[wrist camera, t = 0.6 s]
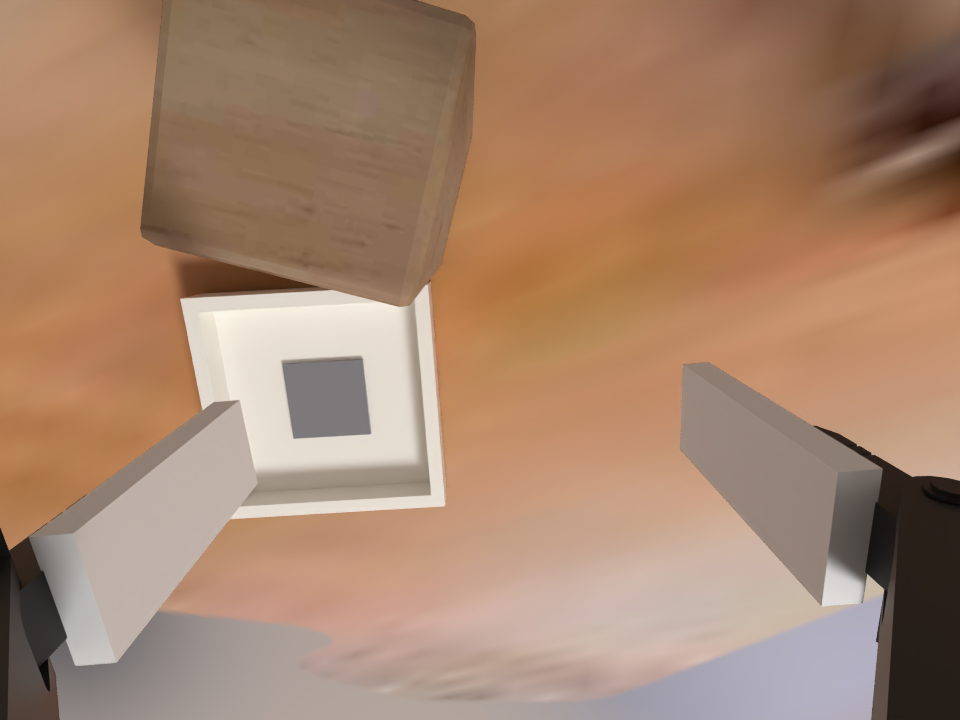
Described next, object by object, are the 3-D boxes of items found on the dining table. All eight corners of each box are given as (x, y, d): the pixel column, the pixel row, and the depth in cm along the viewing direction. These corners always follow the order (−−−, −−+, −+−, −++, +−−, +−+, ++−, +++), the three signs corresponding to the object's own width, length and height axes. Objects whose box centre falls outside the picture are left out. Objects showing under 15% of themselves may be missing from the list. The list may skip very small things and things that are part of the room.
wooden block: (440, 270, 38) (411, 312, 19) (306, 235, 37) (132, 241, 18) (473, 130, 36) (480, 13, 17) (331, 89, 35) (163, -84, 16)
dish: (202, 293, 38) (180, 298, 35) (430, 280, 38) (427, 284, 35) (240, 499, 42) (224, 519, 40) (446, 487, 43) (444, 506, 40)
